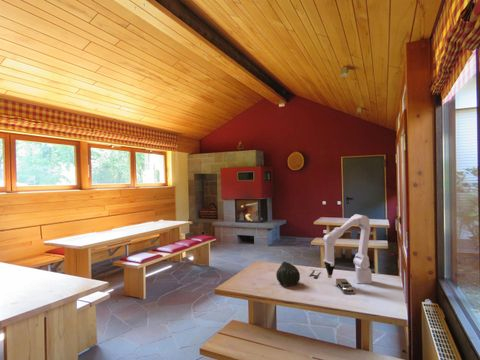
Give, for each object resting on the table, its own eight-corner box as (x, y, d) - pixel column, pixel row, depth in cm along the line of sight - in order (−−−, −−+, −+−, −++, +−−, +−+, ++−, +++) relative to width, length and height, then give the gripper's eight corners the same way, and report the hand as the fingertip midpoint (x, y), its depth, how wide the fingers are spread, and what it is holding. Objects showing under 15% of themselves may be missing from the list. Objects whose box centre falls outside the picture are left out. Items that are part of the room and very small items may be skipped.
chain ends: (345, 284, 193) (345, 278, 193) (354, 294, 176) (354, 288, 176) (335, 284, 193) (335, 278, 193) (343, 294, 176) (343, 288, 176)
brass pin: (331, 276, 194) (331, 267, 194) (332, 277, 192) (332, 268, 192) (327, 276, 194) (327, 267, 194) (328, 277, 192) (328, 268, 192)
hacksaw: (316, 279, 203) (316, 277, 203) (301, 277, 208) (301, 275, 208) (323, 270, 224) (323, 268, 225) (310, 268, 229) (310, 266, 229)
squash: (305, 279, 187) (297, 257, 196) (283, 282, 183) (276, 260, 192) (298, 288, 197) (290, 267, 206) (277, 292, 193) (270, 270, 202)
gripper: (320, 250, 201) (320, 270, 200) (325, 256, 186) (326, 277, 186) (331, 250, 200) (331, 270, 200) (337, 256, 186) (337, 277, 186)
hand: (329, 274), depth 193 cm, fingers closed on brass pin, 2 cm apart
